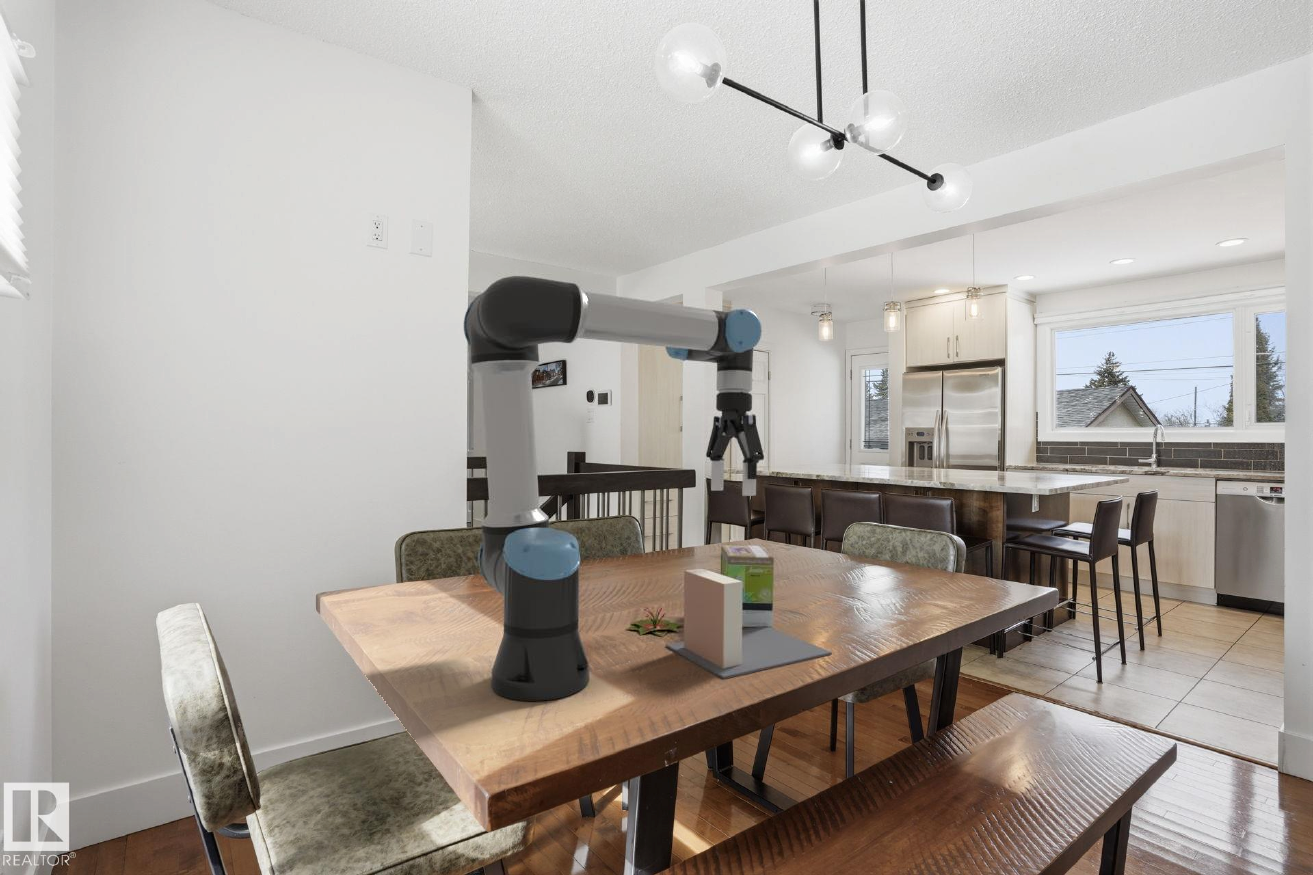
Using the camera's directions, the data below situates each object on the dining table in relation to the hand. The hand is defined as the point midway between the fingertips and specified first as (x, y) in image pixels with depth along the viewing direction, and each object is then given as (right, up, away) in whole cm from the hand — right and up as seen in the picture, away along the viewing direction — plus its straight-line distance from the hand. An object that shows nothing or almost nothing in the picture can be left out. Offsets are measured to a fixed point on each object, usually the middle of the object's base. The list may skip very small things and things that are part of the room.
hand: (732, 493), depth 131 cm
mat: (+1, -27, -18) cm, 32 cm away
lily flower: (-16, -28, -5) cm, 33 cm away
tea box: (+3, -28, +4) cm, 28 cm away
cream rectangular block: (-6, -27, -22) cm, 35 cm away
